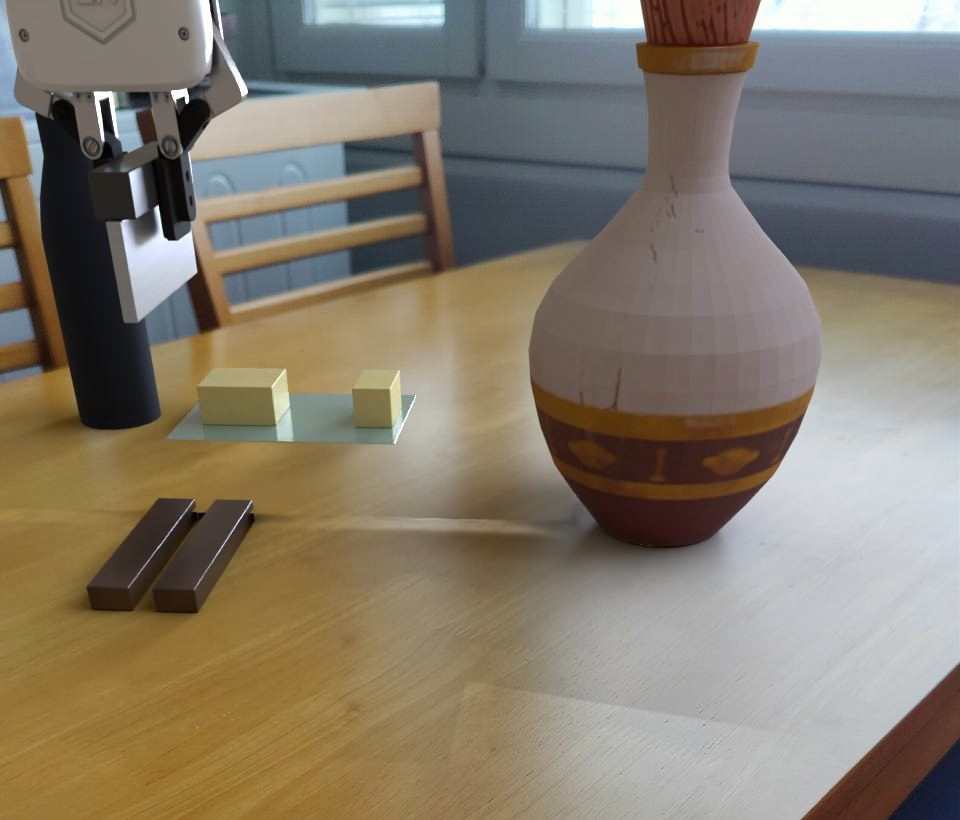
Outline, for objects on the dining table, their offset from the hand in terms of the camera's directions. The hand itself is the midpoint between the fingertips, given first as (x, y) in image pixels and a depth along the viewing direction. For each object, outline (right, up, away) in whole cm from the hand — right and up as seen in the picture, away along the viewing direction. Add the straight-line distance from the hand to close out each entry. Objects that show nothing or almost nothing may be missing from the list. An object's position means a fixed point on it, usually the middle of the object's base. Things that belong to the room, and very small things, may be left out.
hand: (153, 233), depth 69 cm
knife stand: (-1, -17, +9) cm, 19 cm away
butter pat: (+10, 0, +28) cm, 30 cm away
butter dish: (+4, -1, +29) cm, 30 cm away
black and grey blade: (0, -3, +2) cm, 3 cm away
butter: (0, 0, +29) cm, 29 cm away
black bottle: (-11, -1, +30) cm, 32 cm away
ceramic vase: (+31, -13, +14) cm, 36 cm away
